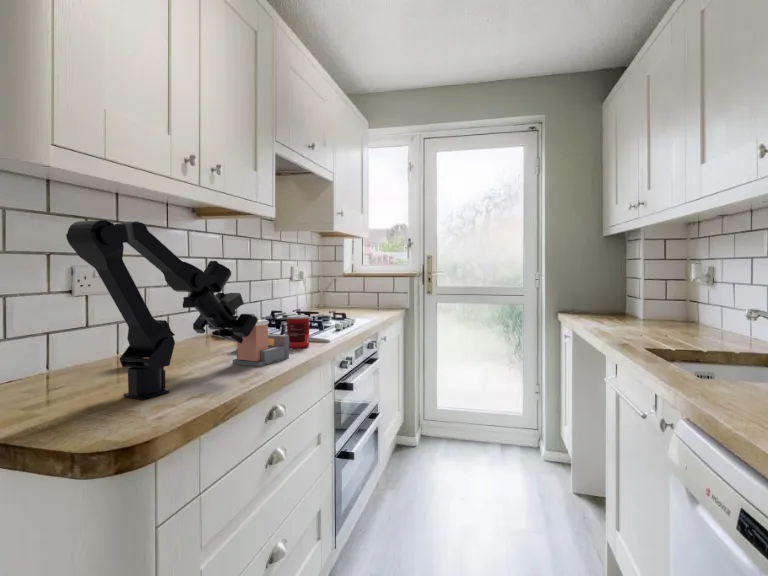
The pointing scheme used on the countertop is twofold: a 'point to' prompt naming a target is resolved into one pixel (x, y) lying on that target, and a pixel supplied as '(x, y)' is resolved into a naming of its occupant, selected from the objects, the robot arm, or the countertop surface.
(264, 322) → the pink white rectangular block
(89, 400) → the countertop surface
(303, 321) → the canned food
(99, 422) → the countertop surface
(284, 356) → the housing
